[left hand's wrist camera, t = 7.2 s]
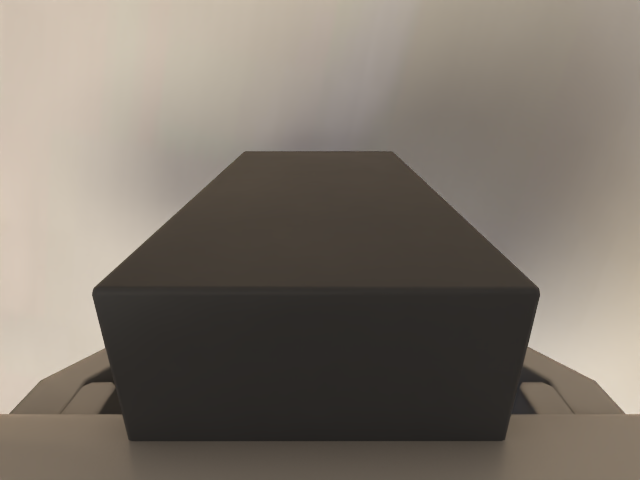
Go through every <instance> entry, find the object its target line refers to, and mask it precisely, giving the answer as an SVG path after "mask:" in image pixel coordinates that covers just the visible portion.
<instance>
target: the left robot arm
mask: <svg viewBox="0 0 640 480" xmlns="http://www.w3.org/2000/svg"><path fill="white" fill-rule="evenodd" d="M0 480H640V414H625V413H624V412H623V411H622V410H621V408H620V407H619V406H618V405H617V404H616V403H615V402H614V401H613V400H612V399H611V398H610V397H609V395H608V394H607V393H606V392H605V391H604V390H603V389H602V388H601V387H600V386H599V385H598V384H597V382H596V381H594V380H592V379H590V378H588V377H586V376H584V375H582V374H580V373H578V372H576V371H574V370H572V369H570V368H568V367H566V366H564V365H562V364H560V363H559V362H557V361H555V360H553V359H551V358H549V357H547V356H545V355H543V354H541V353H539V352H537V351H535V350H533V349H531V348H529V347H527V351H526V355H525V359H524V363H523V367H522V371H521V375H520V380H519V384H518V388H517V392H516V396H515V400H514V404H513V409H512V413H511V417H510V421H509V425H508V429H507V433H506V438H505V440H503V441H130V440H128V436H127V432H126V428H125V424H124V420H123V416H122V412H121V408H120V404H119V400H118V396H117V392H116V388H115V384H114V380H113V376H112V372H111V368H110V364H109V360H108V356H107V352H106V348H105V349H103V350H101V351H99V352H97V353H95V354H93V355H91V356H89V357H87V358H85V359H83V360H81V361H79V362H77V363H75V364H73V365H71V366H69V367H67V368H65V369H63V370H61V371H59V372H57V373H55V374H53V375H51V376H49V377H47V378H45V379H43V380H41V381H40V382H39V383H38V384H37V385H36V386H35V387H34V388H33V389H32V390H31V391H30V392H29V393H28V395H27V396H26V397H25V398H24V399H23V400H22V401H21V402H20V403H19V404H18V405H17V406H16V407H15V408H14V409H13V410H12V411H11V412H10V414H0Z"/></svg>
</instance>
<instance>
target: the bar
mask: <svg viewBox="0 0 640 480" xmlns="http://www.w3.org/2000/svg"><path fill="white" fill-rule="evenodd" d="M92 296H93V300H94V304H95V308H96V312H97V316H98V320H99V324H100V328H101V332H102V336H103V340H104V344H105V348H106V352H107V356H108V360H109V364H110V368H111V372H112V376H113V380H114V384H115V388H116V392H117V396H118V400H119V404H120V408H121V412H122V416H123V420H124V424H125V428H126V432H127V436H128V440H130V441H503V440H505V438H506V433H507V429H508V425H509V421H510V417H511V413H512V409H513V404H514V400H515V396H516V392H517V388H518V384H519V380H520V375H521V371H522V367H523V363H524V359H525V355H526V351H527V346H528V342H529V338H530V334H531V330H532V326H533V321H534V317H535V313H536V309H537V305H538V301H539V297H540V291H539V288H538V287H537V286H536V285H535V284H534V283H533V282H532V281H531V280H530V279H528V278H527V277H526V276H525V275H524V274H523V273H522V272H521V271H520V270H519V269H518V268H517V267H516V266H515V265H513V264H512V263H511V262H510V261H509V260H508V259H507V258H506V257H505V256H504V255H503V254H502V253H501V252H500V251H498V250H497V249H496V248H495V247H494V246H493V245H492V244H491V243H490V242H489V241H488V240H487V239H486V238H485V237H483V236H482V235H481V234H480V233H479V232H478V231H477V230H476V229H475V228H474V227H473V226H472V225H471V224H469V223H468V222H467V221H466V220H465V219H464V218H463V217H462V216H461V215H460V214H459V213H458V212H457V211H456V210H454V209H453V208H452V207H451V206H450V205H449V204H448V203H447V202H446V201H445V200H444V199H443V198H442V197H441V196H439V195H438V194H437V193H436V192H435V191H434V190H433V189H432V188H431V187H430V186H429V185H428V184H427V183H426V182H424V181H423V180H422V179H421V178H420V177H419V176H418V175H417V174H416V173H415V172H414V171H413V170H412V169H411V168H409V167H408V166H407V165H406V164H405V163H404V162H403V161H402V160H401V159H400V158H399V157H398V156H397V155H396V154H394V153H393V152H391V151H246V152H244V153H243V154H241V155H240V156H239V157H238V158H237V159H236V160H235V161H234V162H233V163H232V164H230V165H229V166H228V167H227V168H226V169H225V170H224V171H223V172H222V173H220V174H219V175H218V176H217V177H216V178H215V179H214V180H213V181H212V182H211V183H209V184H208V185H207V186H206V187H205V188H204V189H203V190H202V191H201V192H199V193H198V194H197V195H196V196H195V197H194V198H193V199H192V200H191V201H190V202H188V203H187V204H186V205H185V206H184V207H183V208H182V209H181V210H180V211H178V212H177V213H176V214H175V215H174V216H173V217H172V218H171V219H170V220H168V221H167V222H166V223H165V224H164V225H163V226H162V227H161V228H160V229H159V230H157V231H156V232H155V233H154V234H153V235H152V236H151V237H150V238H149V239H147V240H146V241H145V242H144V243H143V244H142V245H141V246H140V247H139V248H138V249H136V250H135V251H134V252H133V253H132V254H131V255H130V256H129V257H128V258H126V259H125V260H124V261H123V262H122V263H121V264H120V265H119V266H118V267H117V268H115V269H114V270H113V271H112V272H111V273H110V274H109V275H108V276H107V277H105V278H104V279H103V280H102V281H101V282H100V283H99V284H98V285H97V286H96V287H94V289H93V293H92Z"/></svg>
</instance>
